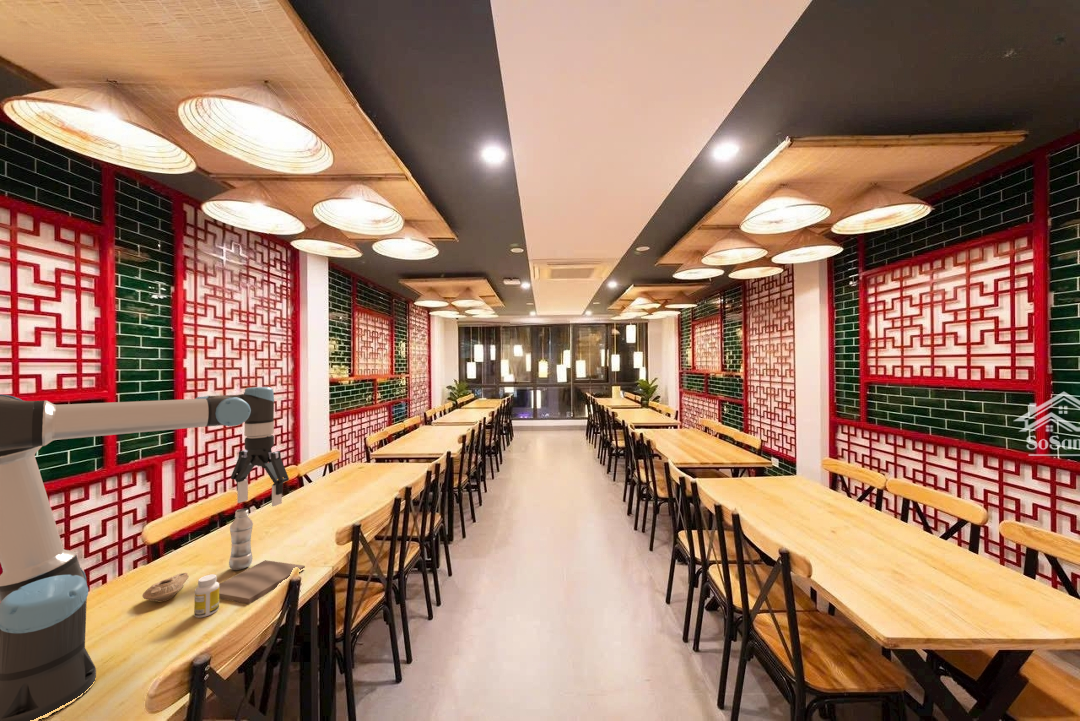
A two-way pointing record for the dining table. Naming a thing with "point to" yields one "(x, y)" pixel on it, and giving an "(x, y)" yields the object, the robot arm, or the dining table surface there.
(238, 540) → the plastic bottle
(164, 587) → the pottery oil lamp
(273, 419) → the robot arm
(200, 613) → the supplement bottle
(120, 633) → the dining table surface
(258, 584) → the serving board
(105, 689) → the dining table surface
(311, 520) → the dining table surface
